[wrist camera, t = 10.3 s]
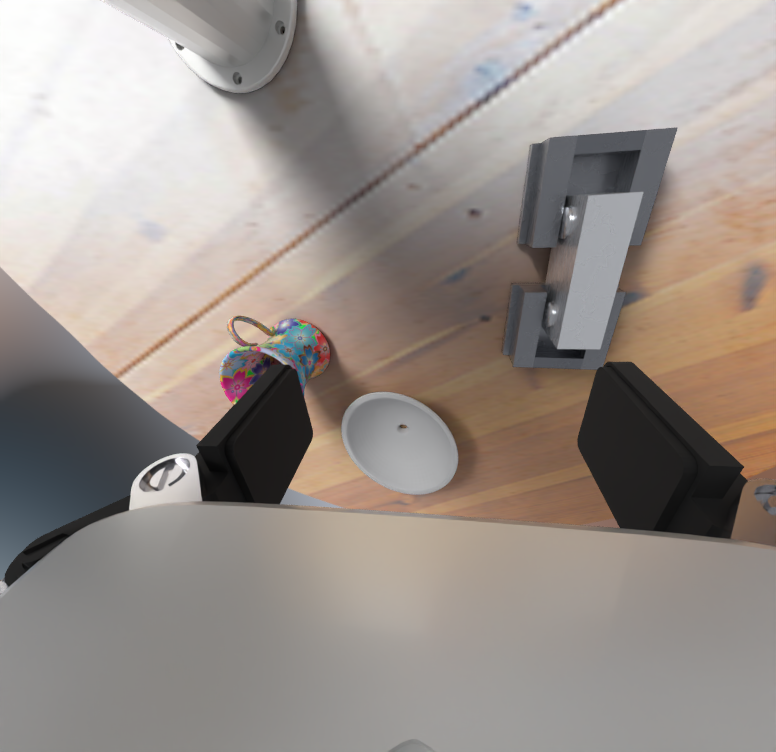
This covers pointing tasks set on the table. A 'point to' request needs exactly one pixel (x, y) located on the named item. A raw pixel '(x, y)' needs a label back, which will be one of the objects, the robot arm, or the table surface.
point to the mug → (273, 355)
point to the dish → (399, 443)
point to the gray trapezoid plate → (587, 267)
